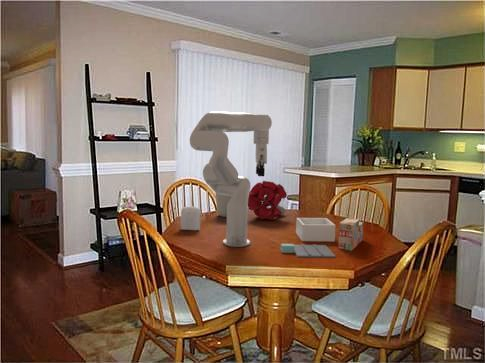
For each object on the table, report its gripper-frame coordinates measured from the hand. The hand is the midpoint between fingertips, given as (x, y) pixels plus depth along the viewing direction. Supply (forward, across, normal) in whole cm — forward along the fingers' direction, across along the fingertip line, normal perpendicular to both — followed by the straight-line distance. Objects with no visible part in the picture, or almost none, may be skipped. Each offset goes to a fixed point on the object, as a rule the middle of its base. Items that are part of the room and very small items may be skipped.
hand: (260, 175), depth 205 cm
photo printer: (+31, +8, +35) cm, 47 cm away
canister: (+31, +44, +14) cm, 55 cm away
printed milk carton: (+31, -18, -42) cm, 55 cm away
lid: (+30, -30, -18) cm, 46 cm away
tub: (+30, -5, -28) cm, 42 cm away
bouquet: (+31, +38, -10) cm, 50 cm away
